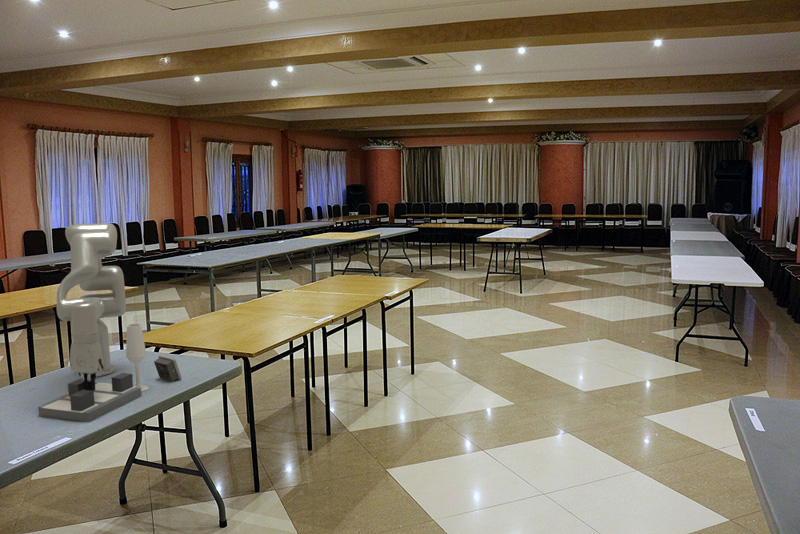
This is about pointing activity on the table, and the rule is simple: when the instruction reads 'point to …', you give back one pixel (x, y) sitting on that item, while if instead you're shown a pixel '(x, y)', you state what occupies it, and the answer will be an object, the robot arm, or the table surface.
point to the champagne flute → (136, 349)
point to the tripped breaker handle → (75, 386)
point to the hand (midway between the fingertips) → (90, 391)
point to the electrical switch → (167, 368)
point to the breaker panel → (94, 410)
